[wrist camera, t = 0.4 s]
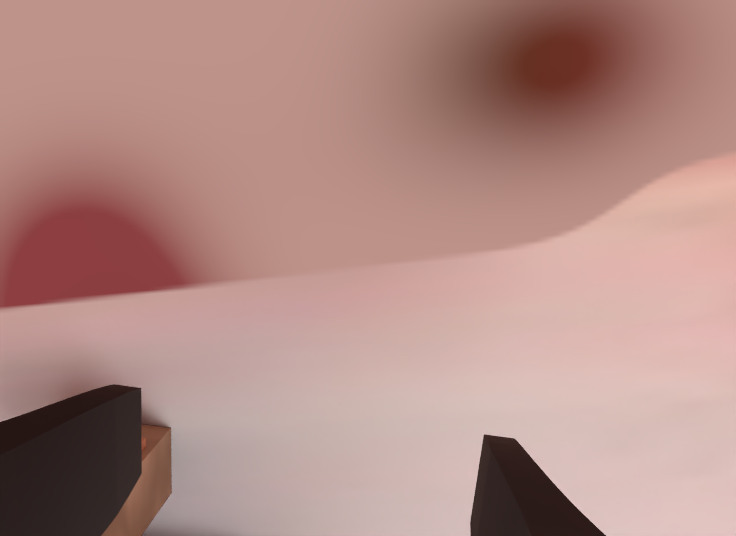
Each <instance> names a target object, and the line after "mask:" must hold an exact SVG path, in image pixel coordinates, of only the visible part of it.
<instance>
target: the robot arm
mask: <svg viewBox="0 0 736 536" xmlns="http://www.w3.org/2000/svg"><path fill="white" fill-rule="evenodd" d="M141 474H142V441H141V388H136V387H129V386H121V385H109V386H105V387H101V388H98V389H94V390H91V391H88V392H85V393H82V394H79V395H76V396H73V397H71V398H68V399H65V400H62V401H60V402H57V403H54V404H51V405H48V406H46V407H43V408H40V409H37V410H34V411H32V412H29V413H26V414H23V415H21V416H18V417H15V418H12V419H9V420H6V421H3V422H0V536H102V534H103V533H104V532H105V530H106V529H107V528H108V527H109V525H110V524H111V523H112V521H113V520H114V519H115V517H116V516H117V515H118V513H119V512H120V510H121V508H122V507H123V505H124V503H125V502H126V500H127V499H128V497H129V495H130V493H131V492H132V490H133V488H134V486H135V485H136V483H137V481H138V479H139V478H140V476H141ZM470 524H471V536H606V535H605V534H603V533H602V532H601V531H600V530H599V529H598V528H597V527H596V526H595V525H594V524H593V523H592V522H591V521H590V520H589V519H588V518H587V517H585V516H584V515H583V514H582V513H581V512H580V511H579V510H578V509H577V508H576V507H575V506H574V505H573V504H572V503H571V502H570V501H569V499H568V498H567V497H566V496H565V495H564V494H563V493H562V492H561V491H560V490H559V489H558V488H557V487H556V486H555V484H554V483H553V482H552V481H551V480H550V479H549V478H548V477H547V475H546V474H545V473H544V472H543V471H542V470H541V469H540V467H539V466H538V465H537V464H536V463H535V462H534V460H533V459H532V458H531V457H530V456H529V454H528V453H527V452H526V451H525V450H524V449H523V447H522V446H521V445H520V444H519V443H518V442H517V441H516V439H513V438H506V437H498V436H491V435H484V438H483V444H482V451H481V457H480V464H479V470H478V477H477V483H476V490H475V496H474V503H473V509H472V515H471V522H470Z"/></svg>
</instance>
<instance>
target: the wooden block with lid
mask: <svg viewBox="0 0 736 536" xmlns="http://www.w3.org/2000/svg"><path fill="white" fill-rule="evenodd" d="M141 441H142V474H141V476H140V478H139V479H138V481H137V483H136V485H135V486H134V488H133V490H132V492H131V493H130V495H129V497H128V499H127V500H126V502H125V503H124V505H123V507H122V508H121V510H120V512H119V513H118V515H117V516H116V517H115V519H114V520H113V521H112V523H111V524H110V525H109V527H108V528H107V529H106V530H105V532H104V533H103V534H102V536H141V535H142V534H143V533H144V531H145V530H146V528H147V527H148V525H149V524H150V523H151V521H152V520H153V518H154V517H155V516H156V514H157V513H158V511H159V510H160V508H161V507H162V506H163V504H164V503H165V501H166V500H167V499H168V497H169V496H170V494H171V493H172V490H171V428H166V427H158V426H150V425H142V424H141Z"/></svg>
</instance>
